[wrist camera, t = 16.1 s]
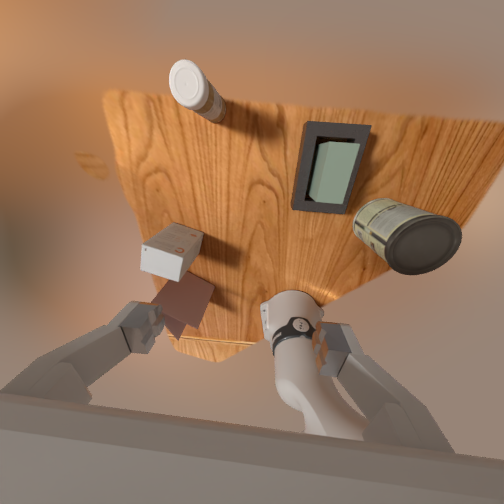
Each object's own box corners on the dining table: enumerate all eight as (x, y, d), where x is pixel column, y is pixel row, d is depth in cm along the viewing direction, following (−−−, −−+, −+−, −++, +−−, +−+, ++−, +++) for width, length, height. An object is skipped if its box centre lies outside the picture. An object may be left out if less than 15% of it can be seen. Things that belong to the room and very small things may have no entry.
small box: (170, 243, 48) (139, 270, 37) (173, 221, 45) (140, 243, 34) (199, 253, 49) (178, 283, 37) (204, 232, 46) (183, 257, 34)
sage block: (339, 146, 35) (360, 143, 27) (327, 194, 40) (342, 204, 32) (316, 144, 36) (329, 141, 28) (306, 192, 40) (315, 201, 32)
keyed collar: (337, 209, 41) (344, 214, 37) (290, 205, 41) (292, 209, 38) (360, 128, 34) (371, 125, 30) (303, 124, 34) (307, 121, 31)
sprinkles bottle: (202, 91, 33) (166, 54, 21) (227, 95, 33) (204, 60, 21) (202, 121, 35) (169, 104, 23) (225, 125, 35) (204, 109, 23)
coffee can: (412, 214, 40) (478, 239, 28) (374, 249, 44) (416, 285, 32) (378, 187, 38) (432, 202, 26) (342, 226, 43) (373, 255, 30)
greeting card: (176, 267, 52) (145, 306, 38) (199, 260, 50) (174, 297, 37) (197, 297, 56) (175, 341, 43) (218, 291, 54) (202, 335, 41)
